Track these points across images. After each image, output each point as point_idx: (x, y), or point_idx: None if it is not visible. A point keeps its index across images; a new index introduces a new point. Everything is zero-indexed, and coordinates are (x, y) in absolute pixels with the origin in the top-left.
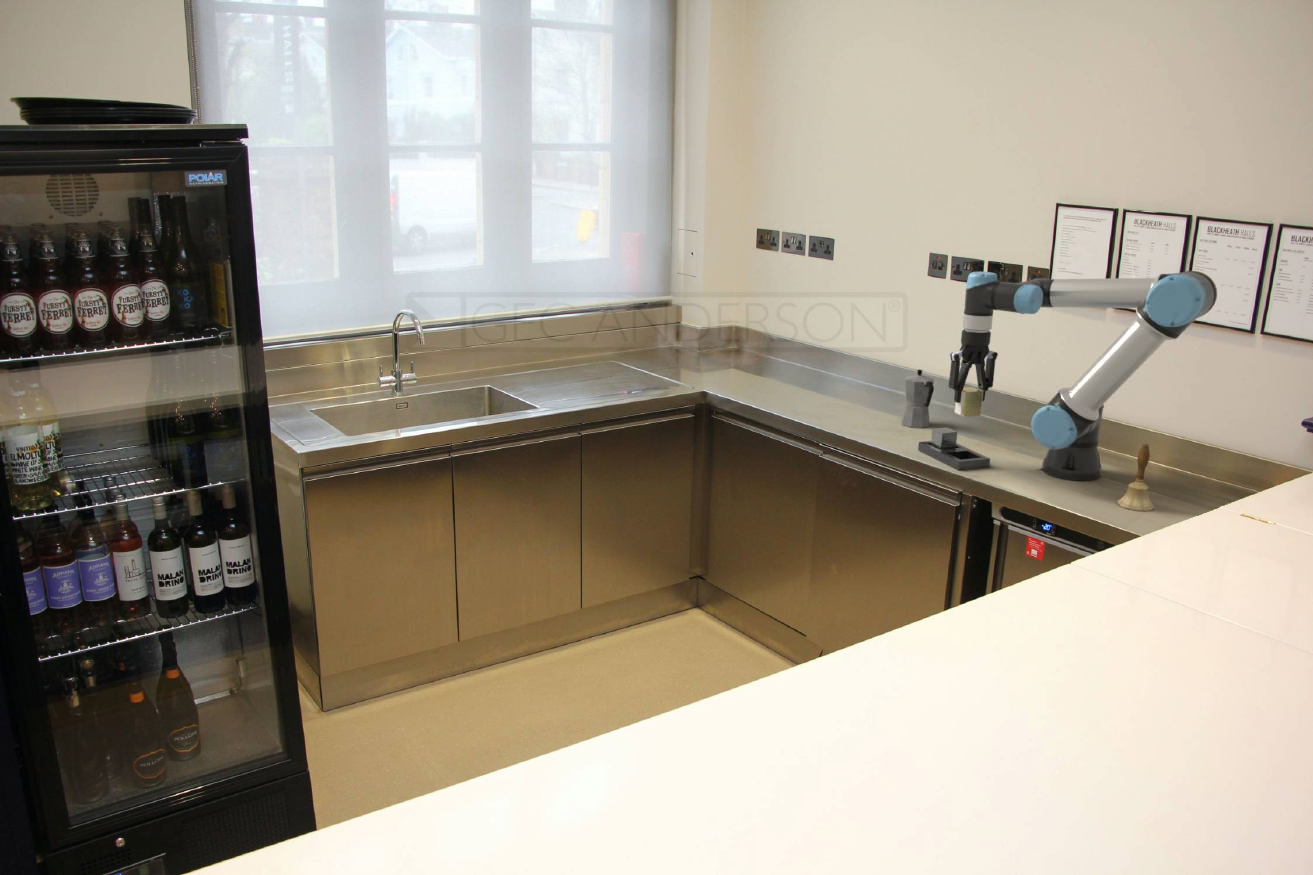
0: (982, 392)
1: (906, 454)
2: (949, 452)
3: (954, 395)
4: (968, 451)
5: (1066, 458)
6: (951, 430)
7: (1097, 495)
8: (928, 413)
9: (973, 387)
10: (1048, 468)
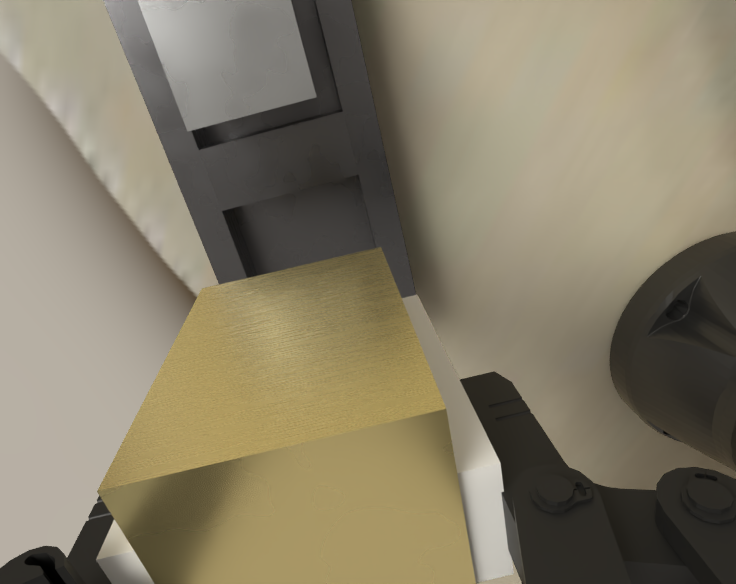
0: None
1: (28, 17)
2: (245, 203)
3: (81, 532)
4: (361, 185)
5: (693, 447)
6: (282, 50)
7: None
8: None
9: (443, 445)
10: (623, 373)
